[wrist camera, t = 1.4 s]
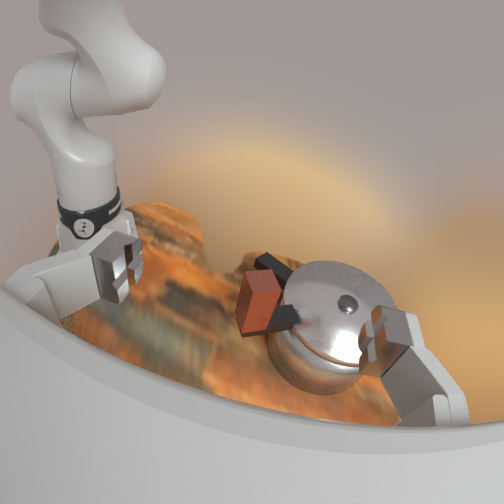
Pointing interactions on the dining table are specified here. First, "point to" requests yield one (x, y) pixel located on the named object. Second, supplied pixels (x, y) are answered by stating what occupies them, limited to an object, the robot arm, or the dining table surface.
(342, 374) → the cooker pot
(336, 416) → the dining table surface
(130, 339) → the dining table surface
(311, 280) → the lid
